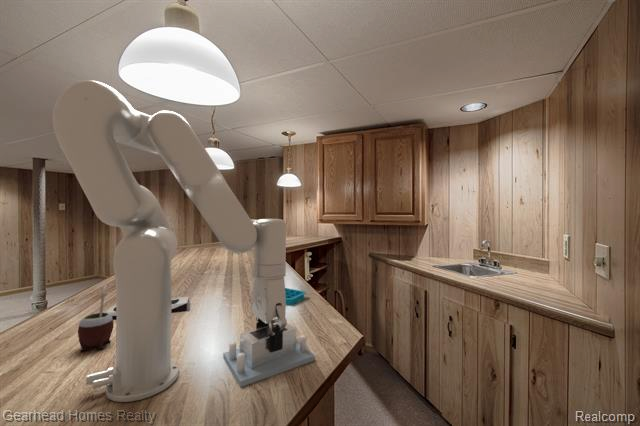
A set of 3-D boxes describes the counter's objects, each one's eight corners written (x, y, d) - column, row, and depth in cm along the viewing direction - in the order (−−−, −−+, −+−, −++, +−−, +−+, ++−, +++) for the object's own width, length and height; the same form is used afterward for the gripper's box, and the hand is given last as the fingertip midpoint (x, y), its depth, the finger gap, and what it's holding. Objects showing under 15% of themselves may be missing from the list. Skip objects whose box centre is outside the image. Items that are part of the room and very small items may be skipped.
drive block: (251, 368, 58) (252, 343, 58) (239, 357, 63) (239, 333, 63) (296, 350, 66) (296, 328, 66) (282, 341, 71) (282, 320, 71)
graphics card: (190, 302, 95) (103, 312, 86) (189, 312, 95) (103, 322, 86) (191, 294, 104) (113, 302, 95) (191, 303, 104) (113, 311, 95)
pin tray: (240, 387, 54) (240, 364, 54) (223, 357, 65) (223, 338, 65) (314, 360, 64) (315, 340, 64) (289, 338, 75) (289, 322, 75)
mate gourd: (85, 357, 65) (85, 294, 64) (71, 348, 68) (72, 289, 68) (120, 344, 71) (121, 287, 71) (106, 337, 75) (106, 283, 75)
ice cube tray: (269, 291, 121) (269, 284, 121) (307, 299, 111) (307, 292, 111) (251, 298, 111) (251, 291, 111) (290, 307, 101) (291, 299, 101)
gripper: (242, 265, 70) (241, 333, 70) (270, 279, 55) (268, 365, 55) (269, 262, 74) (268, 327, 74) (301, 275, 60) (300, 355, 60)
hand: (268, 343), depth 65 cm, fingers open, 7 cm apart
